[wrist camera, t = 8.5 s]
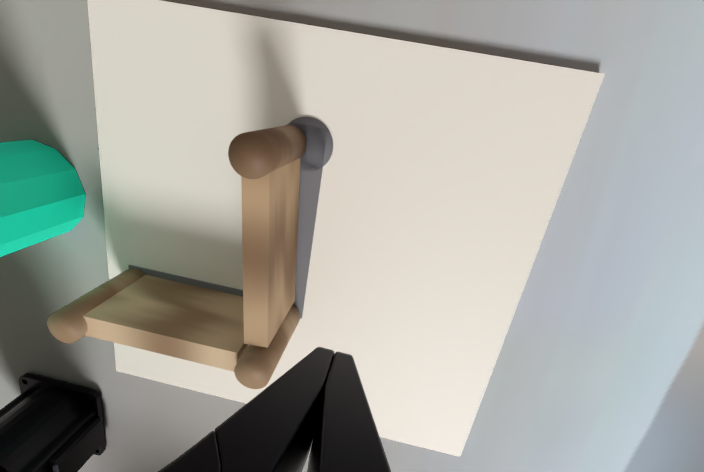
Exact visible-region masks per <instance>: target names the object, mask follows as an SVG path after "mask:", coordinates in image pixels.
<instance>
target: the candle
mask: <svg viewBox="0 0 704 472" xmlns="http://www.w3.org/2000/svg"><path fill="white" fill-rule="evenodd" d="M84 206H85V192H84V189H83V187H82V184H81V182H80V179H79V177H78V175H77V172H76V170H75V168H74V167H73V166H72V165H71V164H70V163H69V162H68V161H67V160H66V159H65V158H64V157H63V156H62V155H61V154H60V153H59V152H58V151H57V150H56V149H54V148H52V147H49V146H47V145H44V144H42V143H39V142H36V141H34V140H22V141H11V142H1V143H0V257H2V256H5V255H7V254H10V253H12V252H15V251H18V250H20V249H23V248H26V247H28V246H31V245H34V244H36V243H39V242H42V241H44V240H47V239H50V238H52V237H55V236H58V235H60V234H63V233H66V232H68V231H71V230H72V229H73V228H74V227H75V226H76V224H77V223H78V222H79V221H80V220H81V219H82V218H83V217H84Z"/></svg>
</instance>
